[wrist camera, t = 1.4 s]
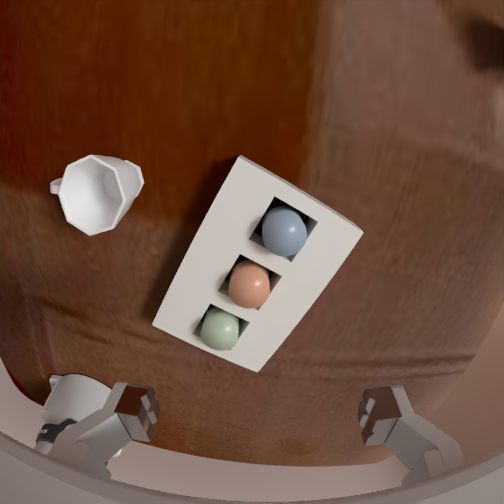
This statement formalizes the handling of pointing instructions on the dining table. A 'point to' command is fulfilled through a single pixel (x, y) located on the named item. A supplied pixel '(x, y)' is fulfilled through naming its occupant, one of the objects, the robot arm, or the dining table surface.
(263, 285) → the terracotta button
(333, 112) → the dining table surface
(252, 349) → the button panel
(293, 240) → the slate button
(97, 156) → the cup
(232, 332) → the sage button
